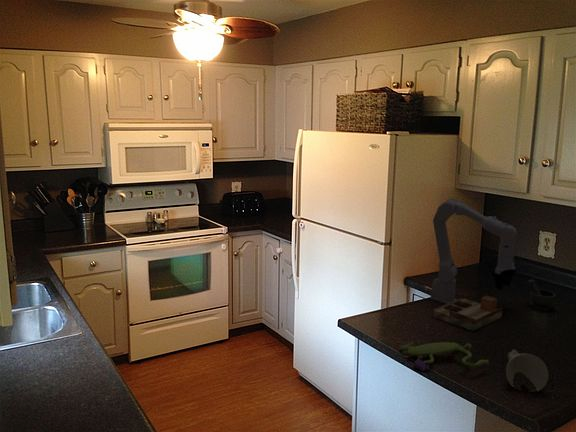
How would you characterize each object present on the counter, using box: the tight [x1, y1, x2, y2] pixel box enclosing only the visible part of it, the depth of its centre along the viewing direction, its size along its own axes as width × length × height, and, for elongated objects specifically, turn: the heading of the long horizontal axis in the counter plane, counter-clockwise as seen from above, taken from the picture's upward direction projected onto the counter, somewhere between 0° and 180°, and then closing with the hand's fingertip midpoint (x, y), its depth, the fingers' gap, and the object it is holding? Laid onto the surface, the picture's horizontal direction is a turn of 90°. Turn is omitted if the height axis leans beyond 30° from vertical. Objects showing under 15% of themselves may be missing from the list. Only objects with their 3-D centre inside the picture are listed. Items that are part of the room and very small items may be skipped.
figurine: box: [399, 341, 490, 372], centre depth 171 cm, size 18×27×6 cm
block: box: [480, 295, 498, 312], centre depth 210 cm, size 4×4×4 cm
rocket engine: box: [505, 349, 549, 392], centre depth 162 cm, size 12×12×18 cm
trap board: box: [431, 297, 504, 332], centre depth 208 cm, size 18×22×5 cm
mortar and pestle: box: [527, 278, 557, 312], centre depth 219 cm, size 11×9×12 cm
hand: (503, 287), depth 214 cm, fingers open, 7 cm apart
